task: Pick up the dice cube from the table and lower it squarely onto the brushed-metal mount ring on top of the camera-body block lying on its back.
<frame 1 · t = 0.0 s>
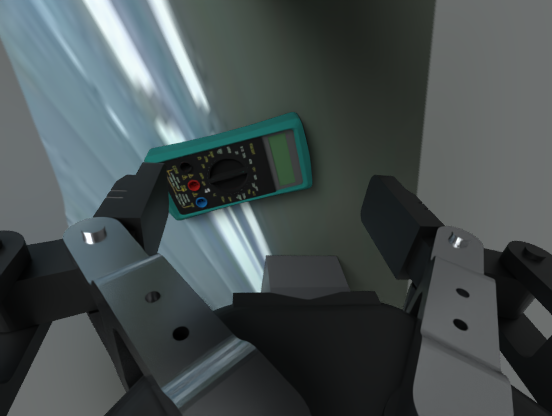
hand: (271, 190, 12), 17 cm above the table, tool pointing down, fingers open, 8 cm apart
digital multimeter: (233, 161, 31), on the table
camera body: (293, 293, 42), on the table
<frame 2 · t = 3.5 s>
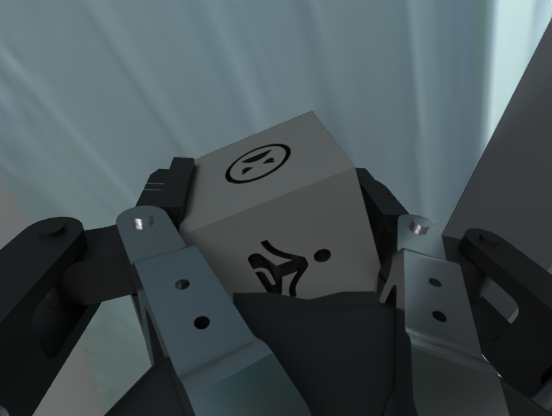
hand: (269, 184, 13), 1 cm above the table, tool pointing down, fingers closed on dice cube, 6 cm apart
dice cube: (274, 183, 14), on the table, touching gripper
when the fingers open (7 cm above the table, at t = 8.0 s): dice cube stays where it is, resting on camera body.
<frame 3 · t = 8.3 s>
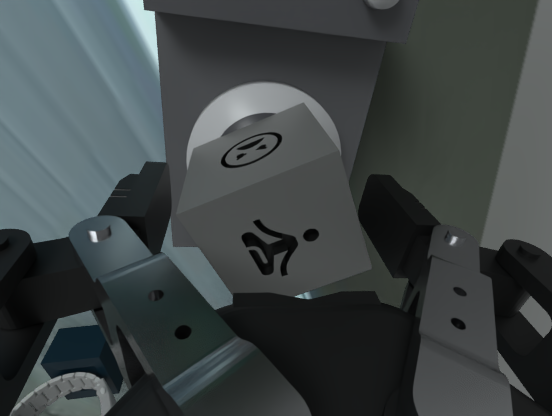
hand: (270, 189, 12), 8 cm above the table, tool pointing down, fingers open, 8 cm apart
watch: (95, 343, 28), on the table
dice cube: (268, 173, 14), point 6 cm above the table, touching camera body
camera body: (259, 99, 18), on the table
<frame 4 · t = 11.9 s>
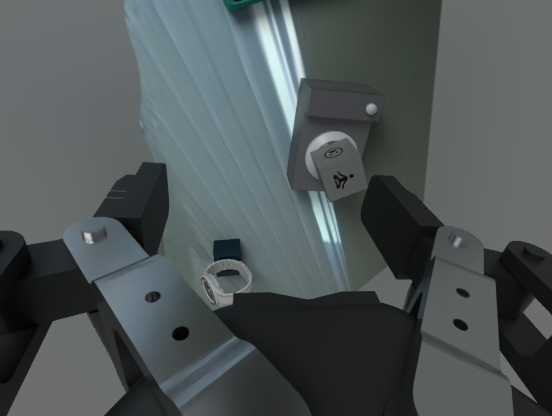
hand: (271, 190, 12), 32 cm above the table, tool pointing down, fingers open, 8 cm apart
watch: (227, 251, 55), on the table
dice cube: (332, 160, 41), point 6 cm above the table, touching camera body
camera body: (323, 132, 45), on the table
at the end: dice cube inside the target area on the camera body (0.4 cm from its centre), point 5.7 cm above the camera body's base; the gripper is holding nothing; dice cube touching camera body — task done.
